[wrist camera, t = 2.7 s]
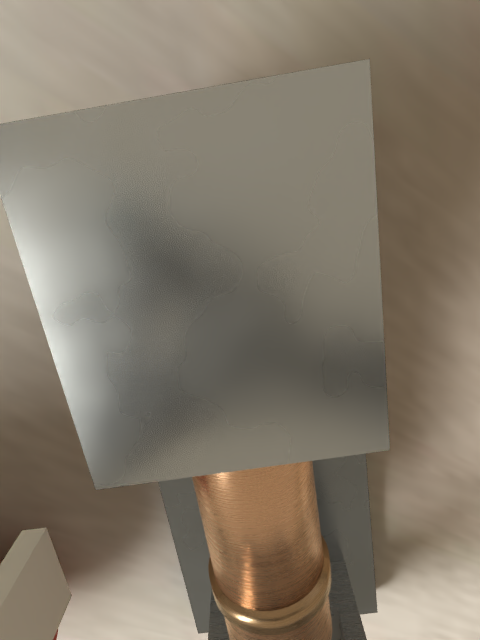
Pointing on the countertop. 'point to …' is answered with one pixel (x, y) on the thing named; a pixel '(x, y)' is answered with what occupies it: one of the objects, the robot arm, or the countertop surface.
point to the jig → (216, 298)
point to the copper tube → (267, 552)
